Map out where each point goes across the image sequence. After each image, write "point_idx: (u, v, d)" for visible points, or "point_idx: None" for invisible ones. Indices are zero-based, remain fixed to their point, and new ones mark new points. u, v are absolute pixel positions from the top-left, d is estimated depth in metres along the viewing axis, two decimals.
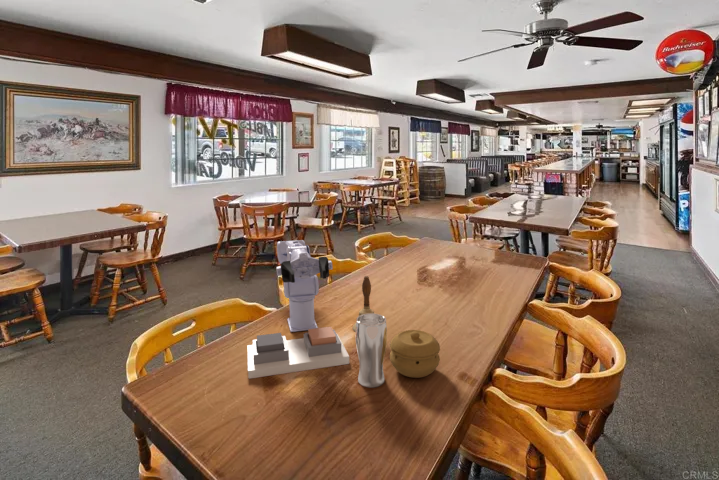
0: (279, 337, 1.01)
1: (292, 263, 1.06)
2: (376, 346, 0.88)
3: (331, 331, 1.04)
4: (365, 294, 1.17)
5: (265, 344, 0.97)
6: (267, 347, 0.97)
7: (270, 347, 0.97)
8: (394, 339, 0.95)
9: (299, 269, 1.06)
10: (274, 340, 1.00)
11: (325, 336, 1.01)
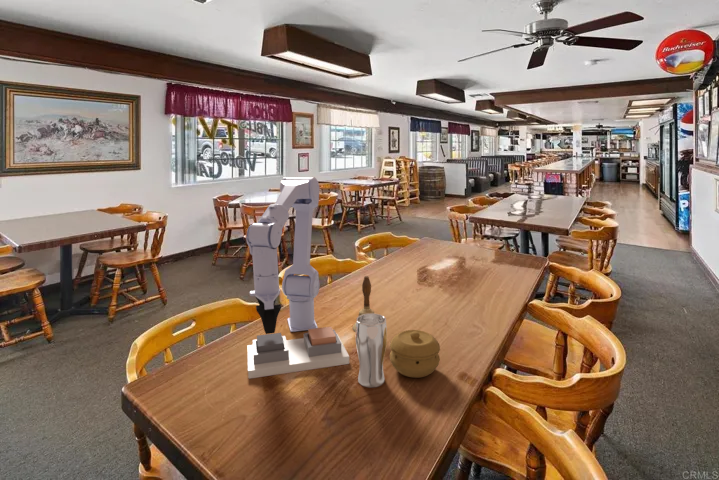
0: (279, 337, 1.01)
1: None
2: (376, 346, 0.88)
3: (331, 331, 1.04)
4: (365, 294, 1.17)
5: (265, 344, 0.97)
6: (267, 347, 0.97)
7: (270, 347, 0.97)
8: (394, 339, 0.95)
9: None
10: (274, 340, 1.00)
11: (325, 336, 1.01)
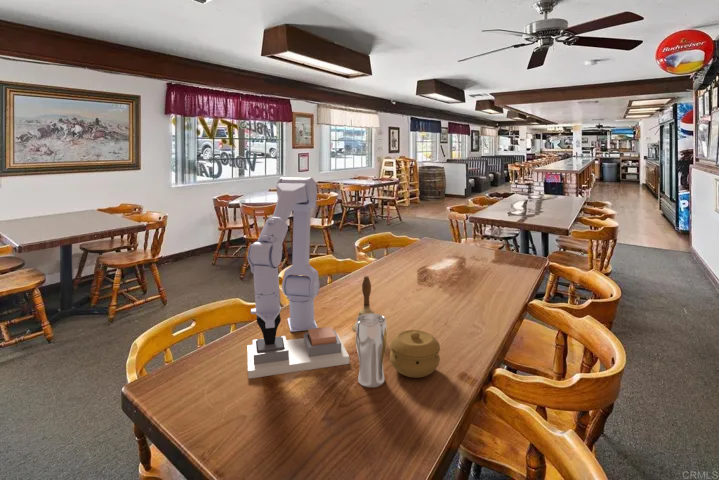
0: (279, 341, 1.01)
1: None
2: (376, 346, 0.88)
3: (331, 331, 1.04)
4: (365, 294, 1.17)
5: (266, 348, 0.98)
6: (267, 351, 0.97)
7: None
8: (394, 339, 0.95)
9: None
10: (275, 343, 1.00)
11: (325, 336, 1.01)
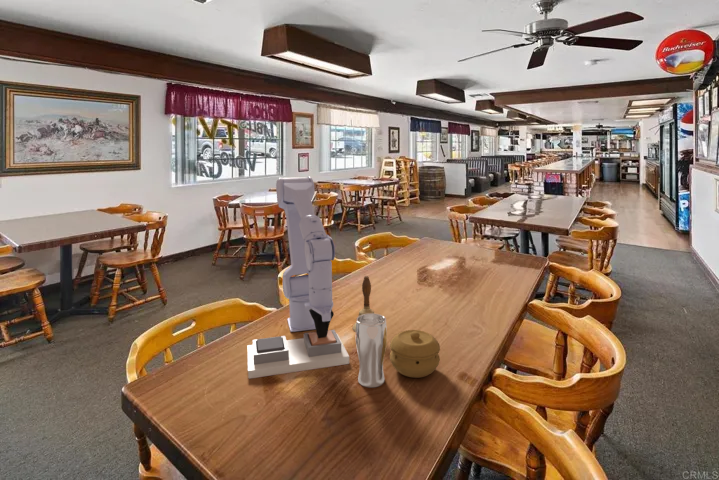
0: (279, 341, 1.01)
1: None
2: (376, 346, 0.88)
3: (331, 335, 1.04)
4: (365, 294, 1.17)
5: (266, 348, 0.98)
6: (267, 351, 0.97)
7: None
8: (394, 339, 0.95)
9: None
10: (275, 343, 1.00)
11: (325, 340, 1.02)
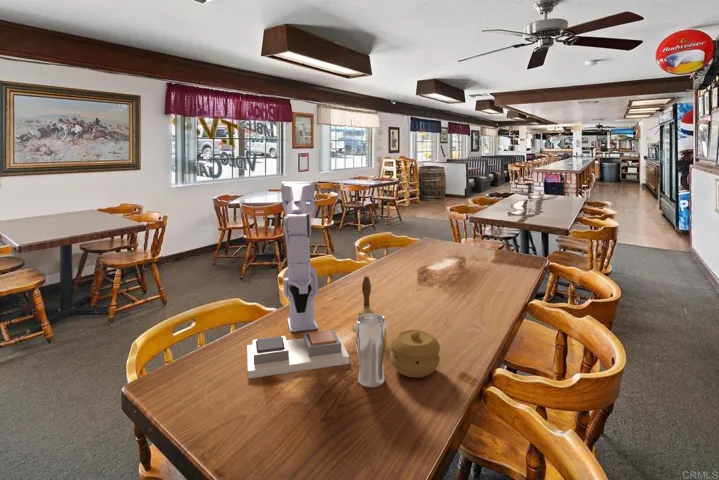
0: (279, 341, 1.01)
1: None
2: (376, 346, 0.88)
3: (331, 335, 1.04)
4: (365, 294, 1.17)
5: (266, 348, 0.98)
6: (267, 351, 0.97)
7: None
8: (394, 339, 0.95)
9: None
10: (275, 343, 1.00)
11: (325, 340, 1.02)
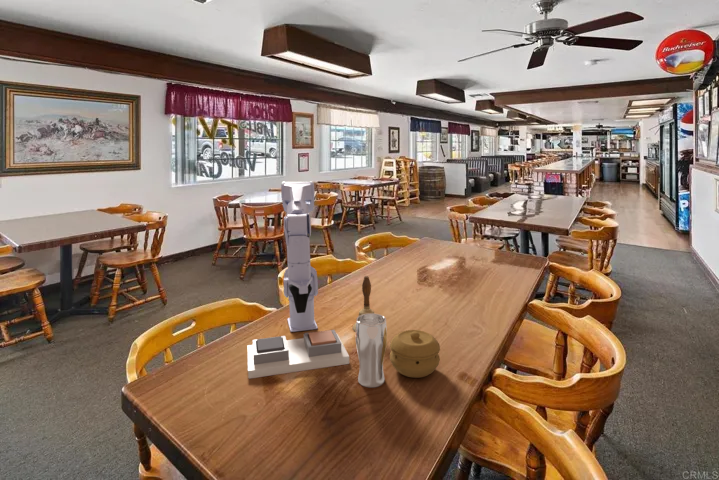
0: (279, 341, 1.01)
1: None
2: (376, 346, 0.88)
3: (331, 335, 1.04)
4: (365, 294, 1.17)
5: (266, 348, 0.98)
6: (267, 351, 0.97)
7: None
8: (394, 339, 0.95)
9: None
10: (275, 343, 1.00)
11: (325, 340, 1.02)
